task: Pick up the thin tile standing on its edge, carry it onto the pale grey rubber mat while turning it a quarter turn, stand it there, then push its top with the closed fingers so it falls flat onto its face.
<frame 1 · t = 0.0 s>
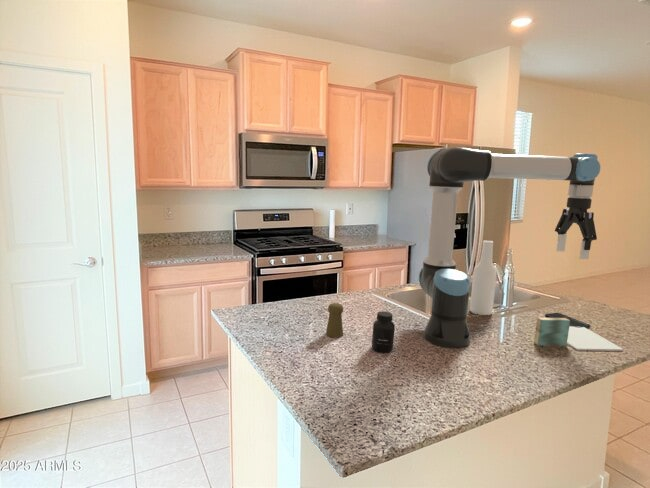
hand: (571, 254, 153), 28 cm above the table, tool pointing down, fingers open, 13 cm apart
tile: (550, 344, 141), on the table
supplement bottle: (382, 349, 132), on the table
mat: (580, 338, 147), on the table
alcohol: (480, 312, 171), on the table
cork: (334, 335, 143), on the table
phone: (566, 322, 164), on the table
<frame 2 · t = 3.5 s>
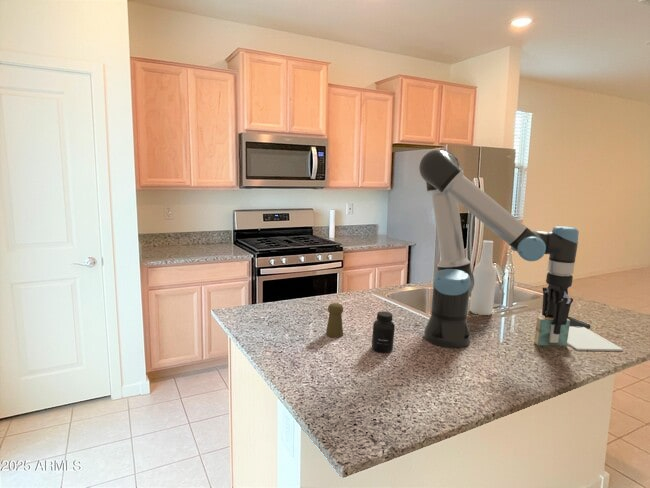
hand: (550, 340, 141), 1 cm above the table, tool pointing down, fingers closed on tile, 2 cm apart
tile: (550, 343, 141), on the table, touching gripper
everything else where it was.
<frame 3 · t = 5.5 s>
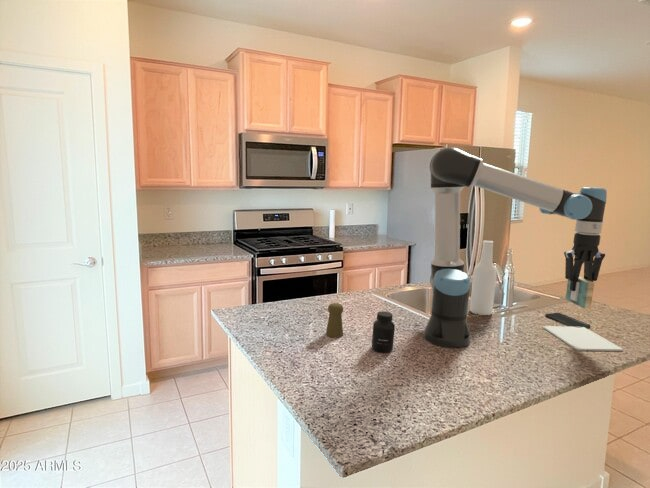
hand: (577, 299, 144), 14 cm above the table, tool pointing down, fingers closed on tile, 2 cm apart
tile: (577, 303, 144), point 13 cm above the table, touching gripper
everything else where it was.
when the fingers open (3 cm above the table, at t = 7.6 s): tile stays where it is, resting on mat.
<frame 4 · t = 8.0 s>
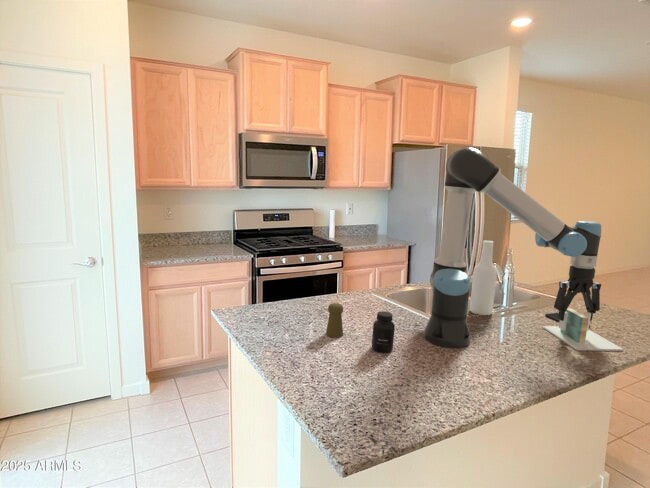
hand: (573, 329, 146), 3 cm above the table, tool pointing down, fingers open, 8 cm apart
tile: (572, 336, 146), point 1 cm above the table, touching mat
everything else where it was.
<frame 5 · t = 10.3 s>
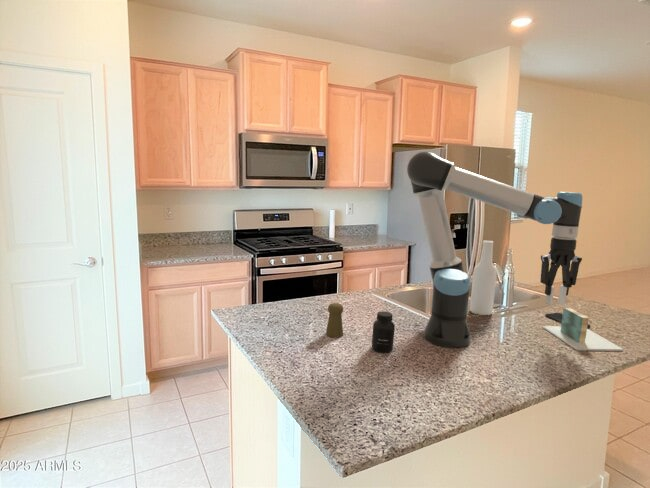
hand: (554, 303, 144), 13 cm above the table, tool pointing down, fingers open, 4 cm apart
nothing on the table moved.
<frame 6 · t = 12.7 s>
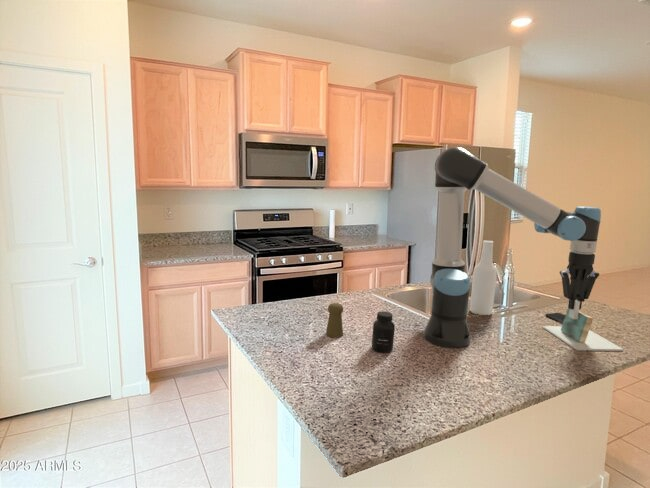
hand: (573, 317, 145), 8 cm above the table, tool pointing down, fingers closed
tile: (572, 336, 146), point 1 cm above the table, tilted 10°, touching mat
everything else where it was.
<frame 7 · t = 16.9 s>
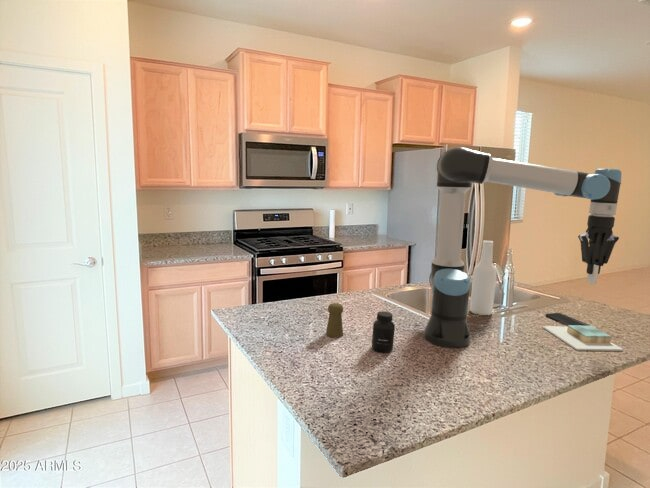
hand: (591, 283, 143), 20 cm above the table, tool pointing down, fingers closed
tile: (576, 333, 146), point 2 cm above the table, tilted 90°, touching mat
everything else where it was.
at the end: tile tilted 90°; tile inside the target area (2.3 cm from its centre), point 1.8 cm above the table; the gripper is holding nothing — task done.
